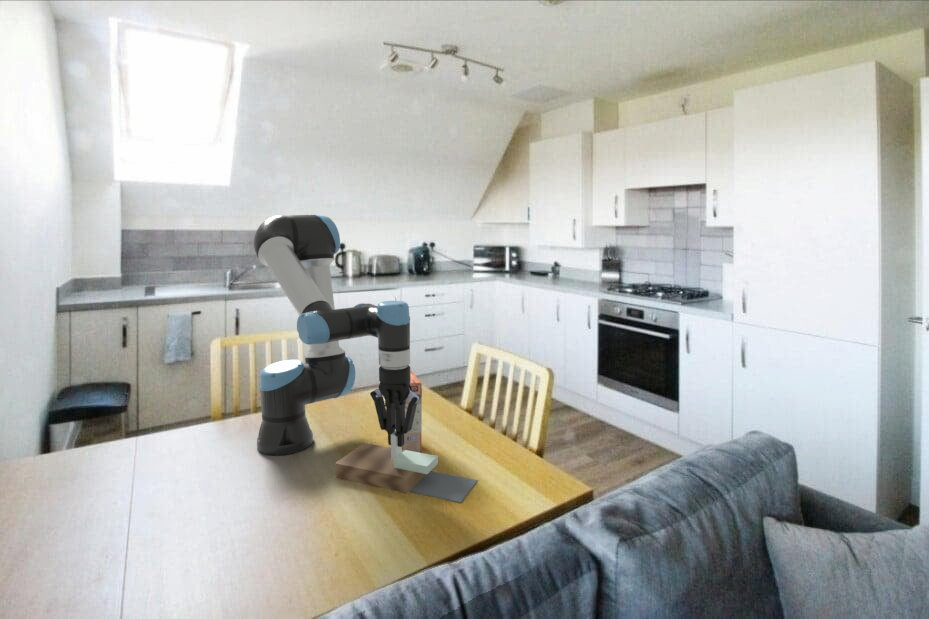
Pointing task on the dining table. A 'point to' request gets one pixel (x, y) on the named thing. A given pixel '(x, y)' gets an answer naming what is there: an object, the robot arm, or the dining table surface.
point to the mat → (444, 486)
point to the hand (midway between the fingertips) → (396, 457)
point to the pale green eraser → (416, 462)
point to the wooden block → (376, 469)
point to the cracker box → (415, 434)
